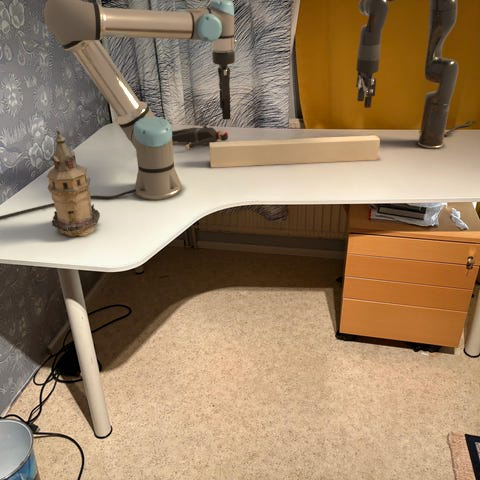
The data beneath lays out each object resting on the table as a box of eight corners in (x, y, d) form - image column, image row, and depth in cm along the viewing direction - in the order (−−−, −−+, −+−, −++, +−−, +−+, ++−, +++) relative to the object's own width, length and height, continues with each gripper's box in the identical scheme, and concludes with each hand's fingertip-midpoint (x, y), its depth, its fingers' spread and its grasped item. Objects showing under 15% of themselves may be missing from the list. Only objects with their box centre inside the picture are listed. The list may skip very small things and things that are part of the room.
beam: (210, 167, 196) (210, 147, 192) (210, 162, 200) (209, 142, 196) (377, 159, 200) (380, 139, 197) (373, 155, 205) (375, 135, 201)
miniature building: (80, 214, 164) (63, 117, 149) (111, 225, 157) (96, 125, 142) (44, 231, 154) (22, 130, 140) (75, 244, 147) (55, 139, 133)
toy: (166, 118, 231) (234, 118, 225) (168, 133, 234) (235, 133, 228) (145, 138, 209) (219, 138, 203) (147, 153, 212) (221, 154, 206)
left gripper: (237, 57, 168) (238, 123, 178) (231, 43, 190) (232, 103, 200) (214, 58, 168) (216, 124, 178) (210, 44, 189) (212, 104, 200)
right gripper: (385, 61, 178) (380, 109, 186) (372, 53, 190) (368, 98, 198) (363, 61, 178) (359, 110, 186) (352, 53, 190) (348, 99, 198)
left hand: (225, 113), depth 189 cm, fingers open, 13 cm apart
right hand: (363, 104), depth 192 cm, fingers open, 8 cm apart
